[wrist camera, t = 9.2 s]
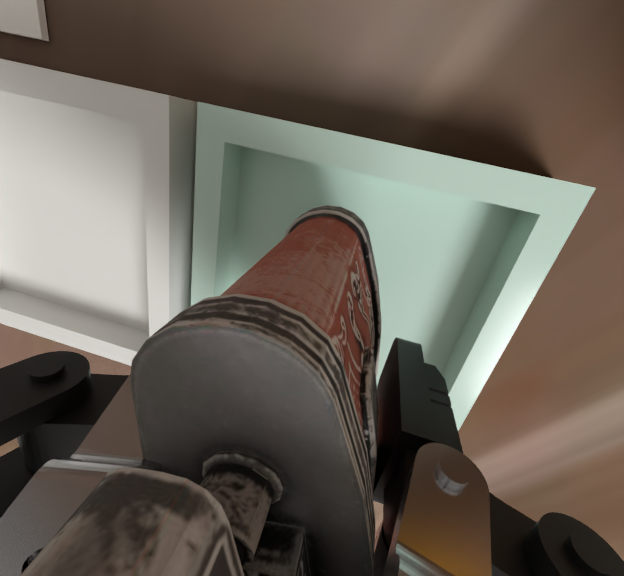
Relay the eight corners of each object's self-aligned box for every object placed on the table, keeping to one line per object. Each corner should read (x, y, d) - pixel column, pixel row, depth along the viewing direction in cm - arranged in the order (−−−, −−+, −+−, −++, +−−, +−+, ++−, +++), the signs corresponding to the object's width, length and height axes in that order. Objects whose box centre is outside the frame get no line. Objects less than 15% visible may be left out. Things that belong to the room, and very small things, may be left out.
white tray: (-47, 49, 14) (-131, 30, 12) (208, 104, 13) (169, 95, 10) (11, 291, 19) (-39, 310, 17) (196, 349, 18) (169, 378, 16)
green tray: (231, 109, 12) (197, 101, 10) (554, 179, 11) (595, 188, 9) (213, 354, 18) (188, 384, 15) (431, 422, 16) (438, 465, 14)
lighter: (381, 409, 13) (367, 1021, 4) (298, 401, 14) (128, 896, 5) (382, 202, 10) (325, 894, 1) (275, 207, 10) (-400, 580, 1)
